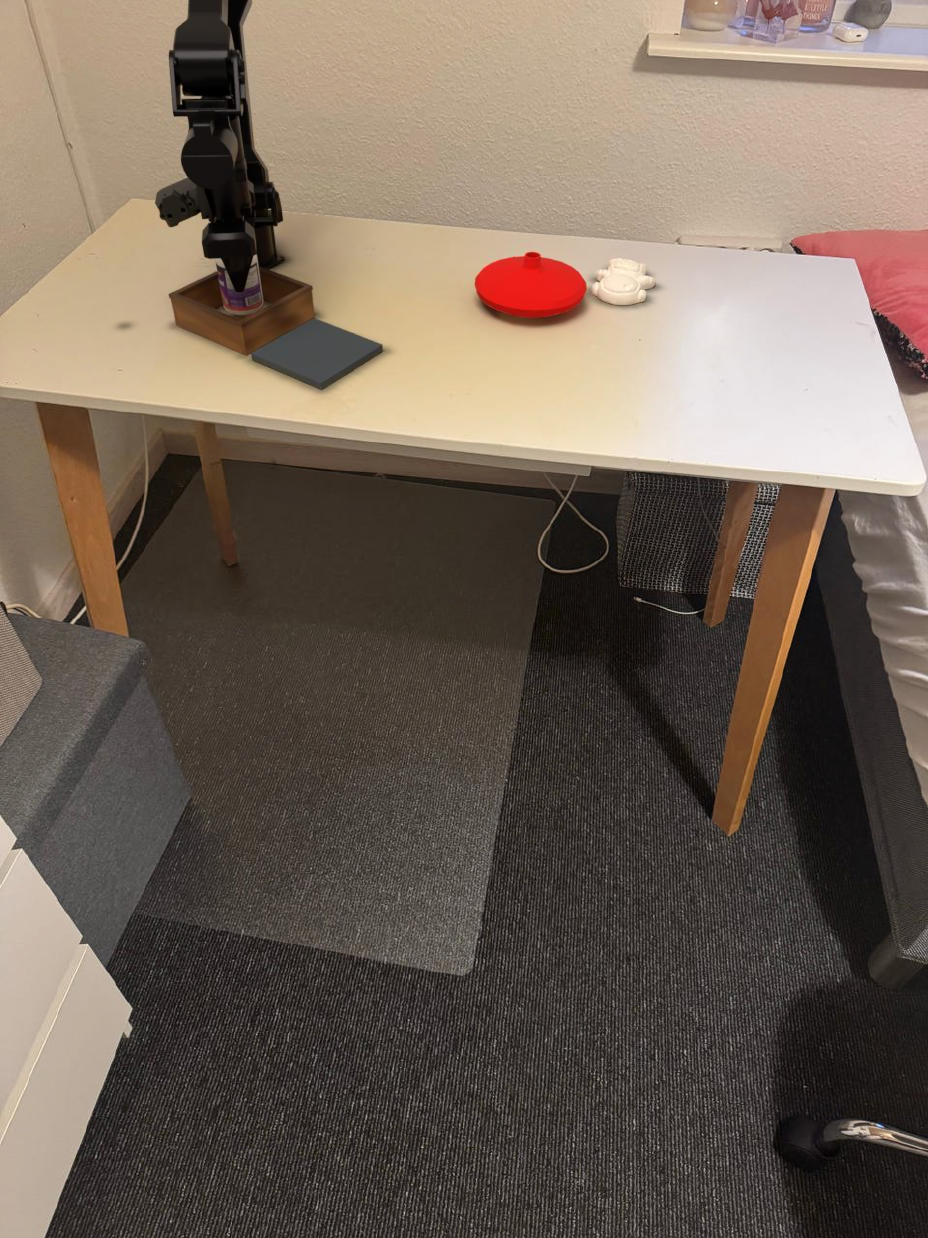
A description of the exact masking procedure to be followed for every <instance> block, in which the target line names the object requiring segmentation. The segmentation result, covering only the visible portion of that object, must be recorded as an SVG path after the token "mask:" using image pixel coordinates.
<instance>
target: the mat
mask: <svg viewBox="0 0 928 1238" xmlns="http://www.w3.org/2000/svg"><path fill="white" fill-rule="evenodd" d="M383 352H384V347H383V344H382V343H380V342H377V341H375V340H372V339H369V338H366V337H364V336H361V335H359V334H356V333H354V332H351V331H349V330H346V329H344V328H341V327H338V326H336V325H333V324H331V323H328V322H326V321H323V320H321V319H318V318H315V317H314V318H312V319H310V320H308V321H307V322H305V323H303V324H301V325H299V326H298V327H296V328H294V329H292V330H290V331H289V332H287V333H285V334H283V335H282V336H280V337H278V338H276V339H274V340H273V341H271V342H269V343H267V344H265V345H264V346H262V347H260V348H258V349H256V350H255V351H253V352H251V353H250V355H251V361H253V362H256V363H258V364H260V365H263V366H264V367H267V368H270V369H272V370H275V371H277V372H279V373H281V374H284V375H286V376H289V377H291V378H292V379H293V378H294V379H296V380H298V381H300V382H303V383H305V384H307V385H309V386H312V387H314V388H316V389H318V390H321V391H322V390H324V389H326V388H327V387H329V386H330V385H332V384H333V383H335V382H337V381H339V380H340V379H341V378H343V377H345V376H346V375H347V374H349V373H351V372H352V371H355V370H356V369H357V368H359V367H360V366H362V365H364V364H365V363H367V362H368V361H370V360H372V359H373V358H375V357H376V356H378V355H379V354H381V353H383Z"/></svg>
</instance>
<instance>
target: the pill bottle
mask: <svg viewBox="0 0 928 1238" xmlns="http://www.w3.org/2000/svg"><path fill="white" fill-rule="evenodd" d="M215 266H216V271H217V272H218V278H219V284H220V289H221V295H222V301H223V305H222V306H223V308H224V310H225V311H226V312H228V313H229V314H230V315H231V314H232V315H235V316H249V315H251V314H253V313H255V312H257V311H259V310H261V309H263V308H264V300H263V294H262V287H261V280H260V273H259V266H258V259H257V254H256V255H254V256H253V260H252V263H251V267H250V271H249V274H248V278H247V282H246V286H245V289H244V292H236V291H235V289H234V287H233V285H232V282H231V280H230V278H229V275H228V273H227V271H226V268H225V266H224V264H223V262H222V260H221V259H220V258H216V259H215Z"/></svg>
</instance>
